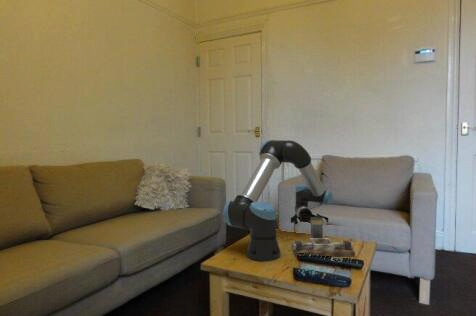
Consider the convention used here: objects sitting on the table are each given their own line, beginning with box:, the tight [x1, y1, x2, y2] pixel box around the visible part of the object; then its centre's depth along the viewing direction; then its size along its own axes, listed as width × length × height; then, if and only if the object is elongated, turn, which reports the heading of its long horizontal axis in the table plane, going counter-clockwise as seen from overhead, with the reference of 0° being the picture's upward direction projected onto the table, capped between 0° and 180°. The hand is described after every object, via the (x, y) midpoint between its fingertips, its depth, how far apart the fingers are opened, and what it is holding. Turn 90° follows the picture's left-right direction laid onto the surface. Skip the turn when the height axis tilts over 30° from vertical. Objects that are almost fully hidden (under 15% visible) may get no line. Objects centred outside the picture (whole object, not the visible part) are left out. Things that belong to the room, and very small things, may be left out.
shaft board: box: [291, 237, 356, 258], centre depth 155 cm, size 27×12×5 cm, turn 89°
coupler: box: [310, 217, 324, 238], centre depth 166 cm, size 5×5×13 cm
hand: (312, 224), depth 175 cm, fingers open, 13 cm apart
